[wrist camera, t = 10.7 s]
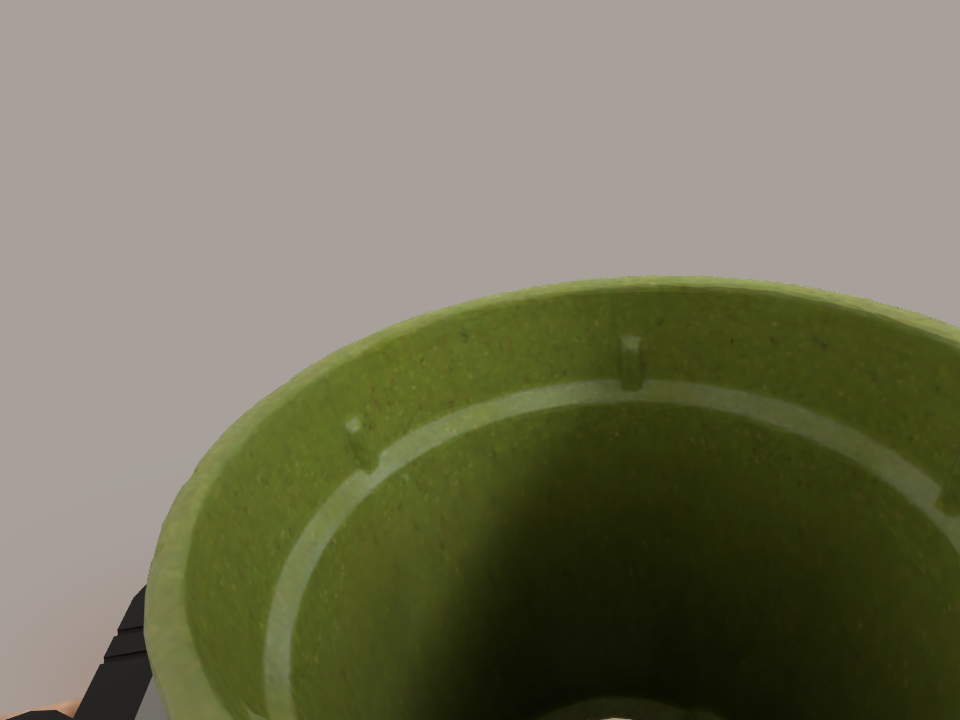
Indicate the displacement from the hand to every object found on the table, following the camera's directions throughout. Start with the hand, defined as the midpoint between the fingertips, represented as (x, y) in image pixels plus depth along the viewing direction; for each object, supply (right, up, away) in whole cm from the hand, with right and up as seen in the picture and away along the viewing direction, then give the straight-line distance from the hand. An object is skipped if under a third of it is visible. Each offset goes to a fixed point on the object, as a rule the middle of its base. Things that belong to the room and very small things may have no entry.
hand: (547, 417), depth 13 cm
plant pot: (+1, -8, -2) cm, 8 cm away
